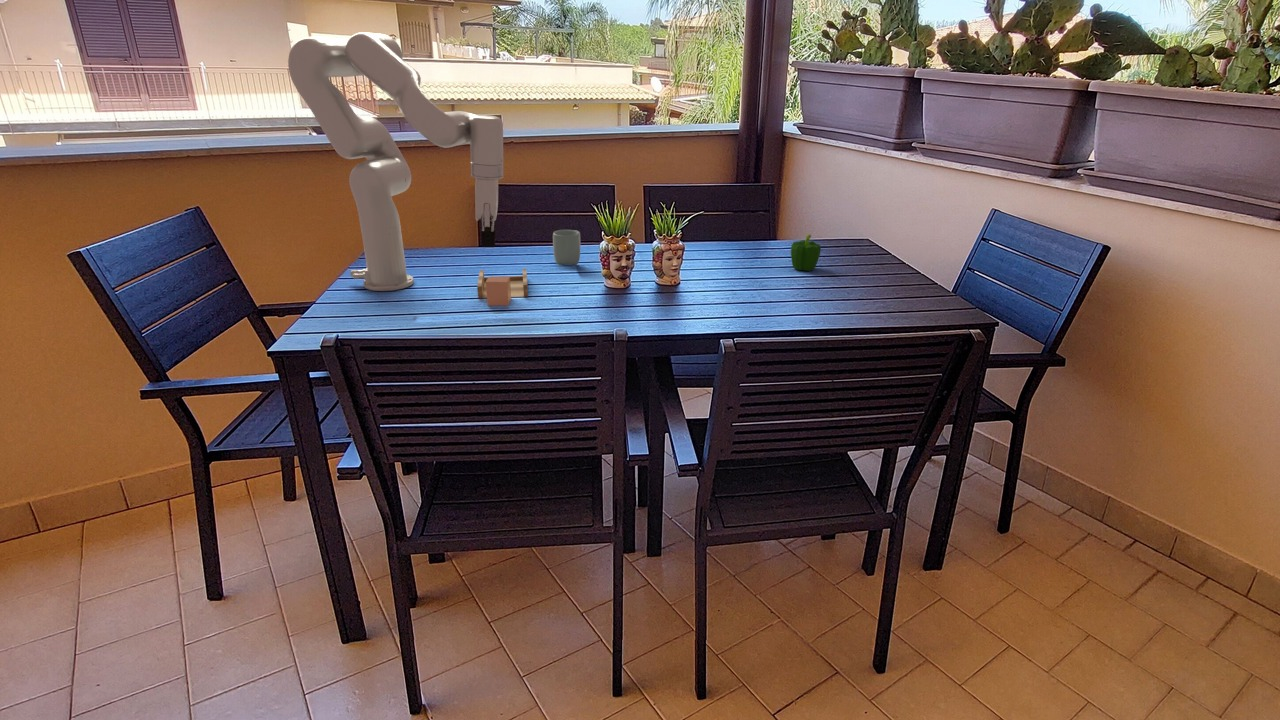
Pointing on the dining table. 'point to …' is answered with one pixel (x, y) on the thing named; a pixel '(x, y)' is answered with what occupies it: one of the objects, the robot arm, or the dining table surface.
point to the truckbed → (516, 283)
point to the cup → (566, 247)
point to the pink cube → (498, 290)
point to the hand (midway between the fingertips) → (488, 246)
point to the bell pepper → (805, 254)
